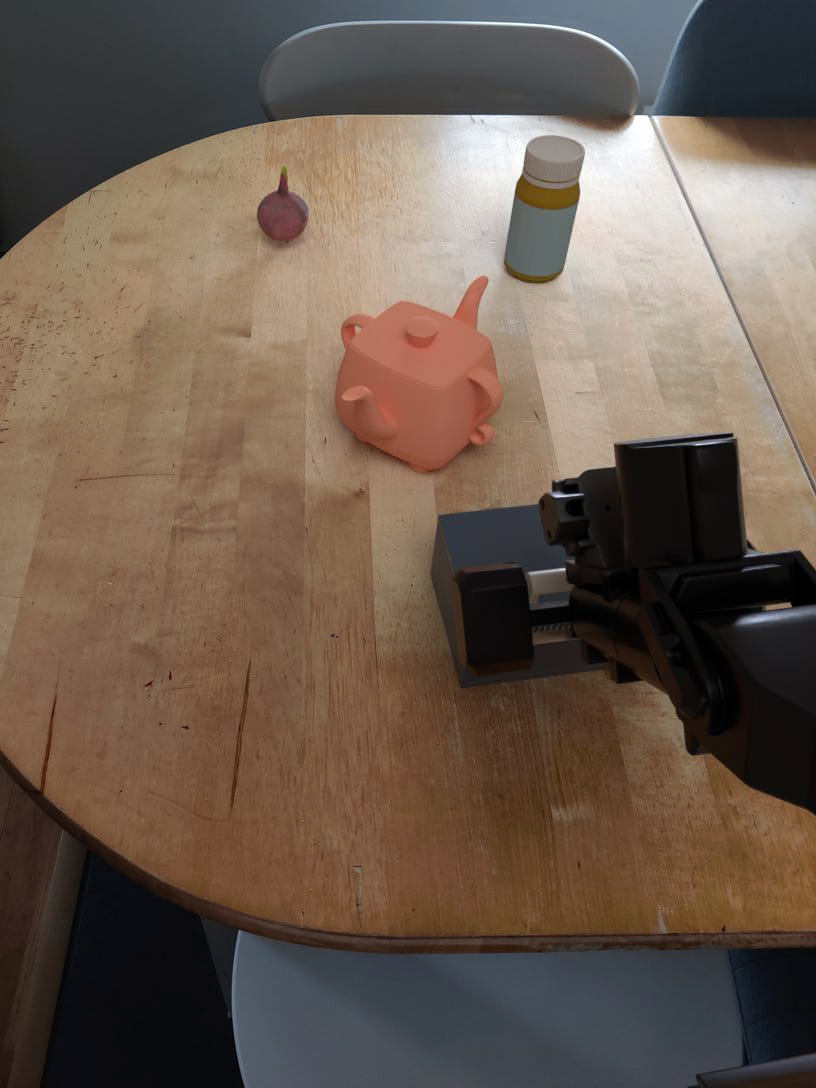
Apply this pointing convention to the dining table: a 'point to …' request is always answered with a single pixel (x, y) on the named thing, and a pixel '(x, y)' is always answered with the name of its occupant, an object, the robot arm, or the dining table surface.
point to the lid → (508, 548)
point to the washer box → (547, 655)
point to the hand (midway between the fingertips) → (559, 581)
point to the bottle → (544, 208)
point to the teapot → (419, 380)
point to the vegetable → (282, 212)
